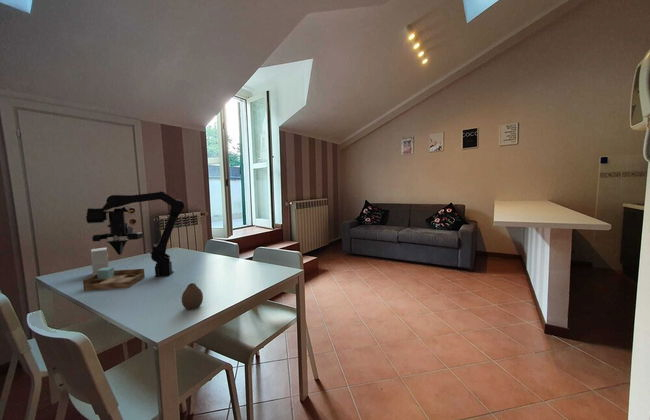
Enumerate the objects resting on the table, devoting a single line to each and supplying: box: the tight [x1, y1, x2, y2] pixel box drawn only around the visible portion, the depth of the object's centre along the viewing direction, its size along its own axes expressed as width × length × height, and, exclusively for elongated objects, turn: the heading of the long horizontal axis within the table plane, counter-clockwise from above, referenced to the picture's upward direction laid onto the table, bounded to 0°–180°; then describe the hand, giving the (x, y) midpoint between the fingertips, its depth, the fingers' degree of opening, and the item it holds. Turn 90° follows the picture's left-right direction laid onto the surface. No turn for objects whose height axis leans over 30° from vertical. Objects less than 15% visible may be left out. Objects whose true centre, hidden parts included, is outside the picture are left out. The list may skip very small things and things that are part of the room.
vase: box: [181, 283, 204, 311], centre depth 95 cm, size 7×7×9 cm
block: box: [97, 266, 115, 279], centre depth 123 cm, size 4×4×4 cm
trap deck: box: [82, 268, 146, 291], centre depth 121 cm, size 18×13×4 cm
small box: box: [90, 247, 110, 276], centre depth 136 cm, size 8×6×13 cm
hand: (120, 254), depth 123 cm, fingers closed
